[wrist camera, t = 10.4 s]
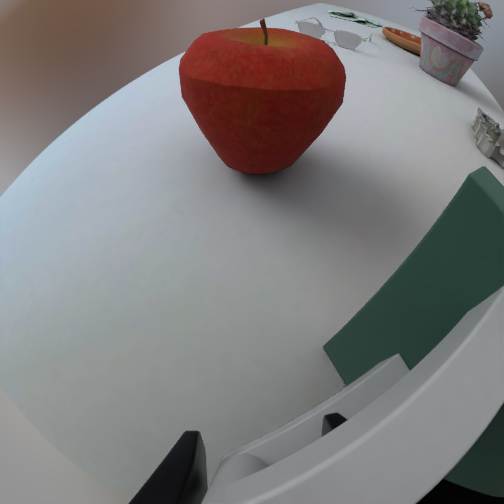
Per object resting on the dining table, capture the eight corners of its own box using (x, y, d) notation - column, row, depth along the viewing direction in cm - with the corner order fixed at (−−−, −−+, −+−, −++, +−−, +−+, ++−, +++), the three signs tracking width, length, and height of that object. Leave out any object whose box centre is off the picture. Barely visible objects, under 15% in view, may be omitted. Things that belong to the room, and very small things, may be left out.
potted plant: (389, 49, 51) (407, -32, 30) (452, 74, 50) (475, 2, 29) (409, 73, 42) (436, -29, 21) (481, 105, 41) (514, 18, 20)
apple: (281, 237, 19) (313, 55, 9) (163, 175, 22) (135, 31, 12) (341, 155, 24) (374, 31, 14) (242, 115, 27) (244, 4, 17)
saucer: (367, 33, 59) (369, 23, 56) (401, 37, 67) (403, 28, 64) (435, 67, 50) (439, 56, 47) (457, 67, 58) (460, 59, 55)
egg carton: (511, 176, 27) (524, 157, 23) (473, 148, 29) (485, 126, 25) (502, 144, 32) (512, 127, 28) (469, 121, 34) (478, 103, 30)
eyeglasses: (293, 34, 48) (294, 19, 45) (317, 26, 57) (319, 13, 53) (362, 53, 45) (366, 37, 41) (373, 42, 53) (376, 29, 50)
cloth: (388, 28, 75) (389, 23, 73) (362, 26, 66) (363, 20, 64) (345, 13, 82) (345, 8, 80) (313, 11, 74) (314, 6, 72)
